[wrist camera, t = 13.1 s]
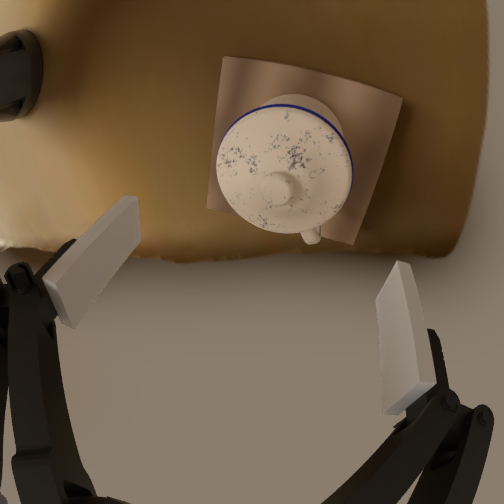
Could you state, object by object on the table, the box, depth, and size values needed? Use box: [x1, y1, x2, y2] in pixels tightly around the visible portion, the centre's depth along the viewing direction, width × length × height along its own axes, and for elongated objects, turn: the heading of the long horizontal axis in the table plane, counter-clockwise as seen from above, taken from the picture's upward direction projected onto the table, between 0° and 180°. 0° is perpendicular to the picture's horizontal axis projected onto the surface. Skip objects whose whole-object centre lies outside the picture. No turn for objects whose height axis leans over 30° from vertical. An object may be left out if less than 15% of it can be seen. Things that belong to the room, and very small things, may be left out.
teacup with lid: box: [216, 94, 354, 244], centre depth 22 cm, size 12×9×12 cm
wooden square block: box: [207, 56, 403, 245], centre depth 28 cm, size 16×16×4 cm
